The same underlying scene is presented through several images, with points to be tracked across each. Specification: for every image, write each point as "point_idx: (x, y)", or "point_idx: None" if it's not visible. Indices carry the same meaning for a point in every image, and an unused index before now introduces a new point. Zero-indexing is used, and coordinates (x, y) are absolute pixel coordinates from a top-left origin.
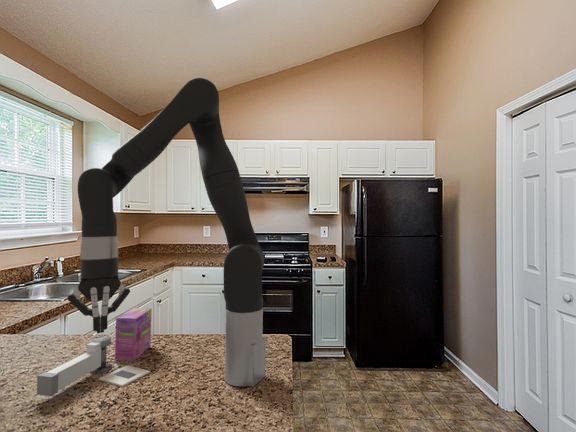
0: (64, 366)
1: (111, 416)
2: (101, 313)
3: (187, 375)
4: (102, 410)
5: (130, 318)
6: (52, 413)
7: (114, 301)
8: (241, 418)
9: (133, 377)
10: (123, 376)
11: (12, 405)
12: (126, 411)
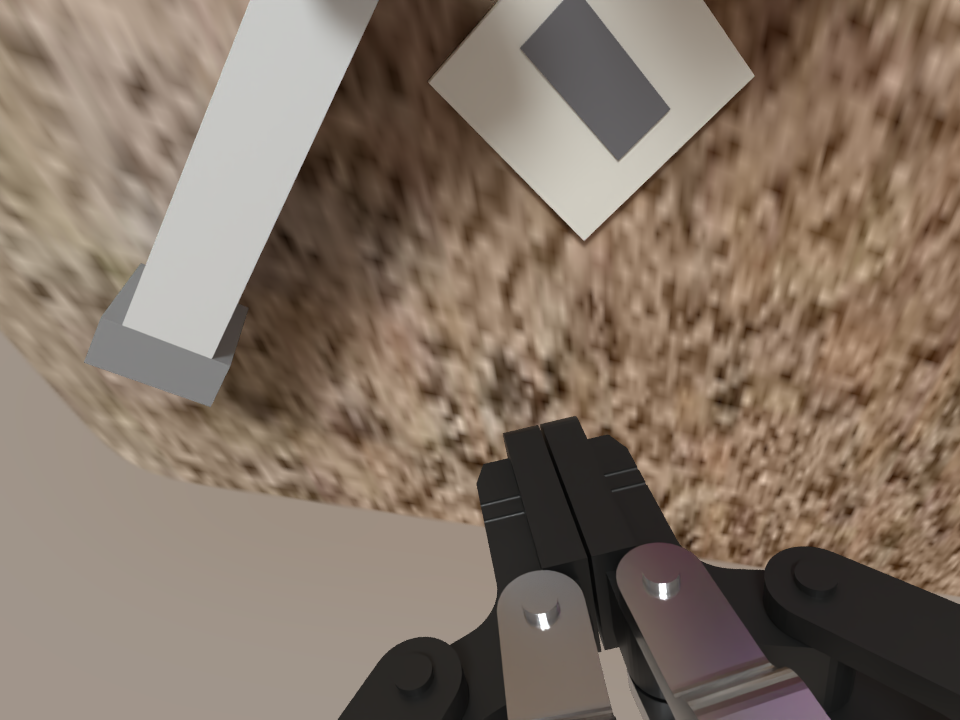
0: (212, 249)
1: None
2: (632, 693)
3: (930, 192)
4: None
5: None
6: (292, 413)
7: (909, 694)
8: (937, 556)
9: (648, 148)
10: (589, 119)
11: (10, 292)
12: None
